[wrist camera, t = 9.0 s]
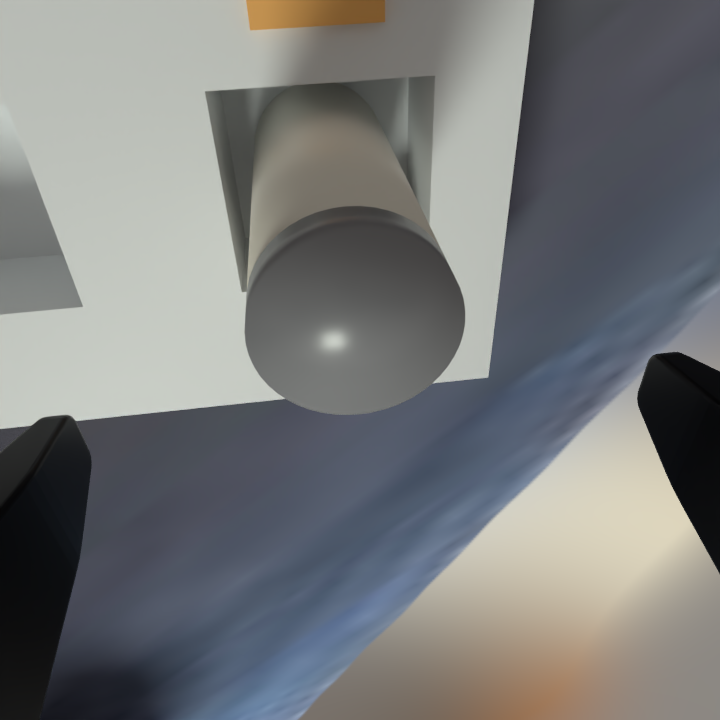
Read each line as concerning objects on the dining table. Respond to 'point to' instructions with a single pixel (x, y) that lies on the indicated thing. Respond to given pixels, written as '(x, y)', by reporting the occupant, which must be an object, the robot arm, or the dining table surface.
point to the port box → (218, 178)
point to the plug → (342, 261)
